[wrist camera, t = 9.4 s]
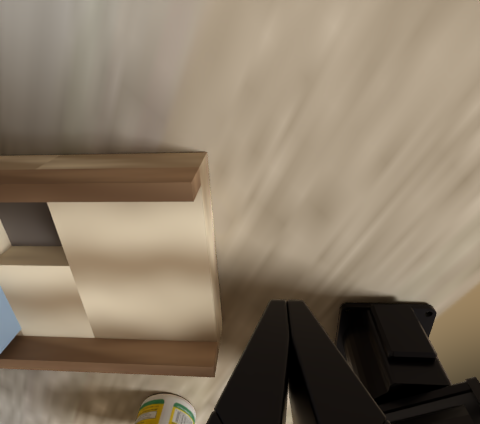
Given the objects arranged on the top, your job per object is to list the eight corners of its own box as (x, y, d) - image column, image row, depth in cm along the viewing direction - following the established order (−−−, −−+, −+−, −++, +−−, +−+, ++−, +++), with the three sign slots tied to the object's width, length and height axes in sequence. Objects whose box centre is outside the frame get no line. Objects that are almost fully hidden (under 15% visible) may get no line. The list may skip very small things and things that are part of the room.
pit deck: (222, 324, 26) (214, 377, 22) (-15, 318, 27) (-63, 365, 23) (207, 152, 19) (191, 182, 15) (-104, 157, 21) (-191, 185, 17)
